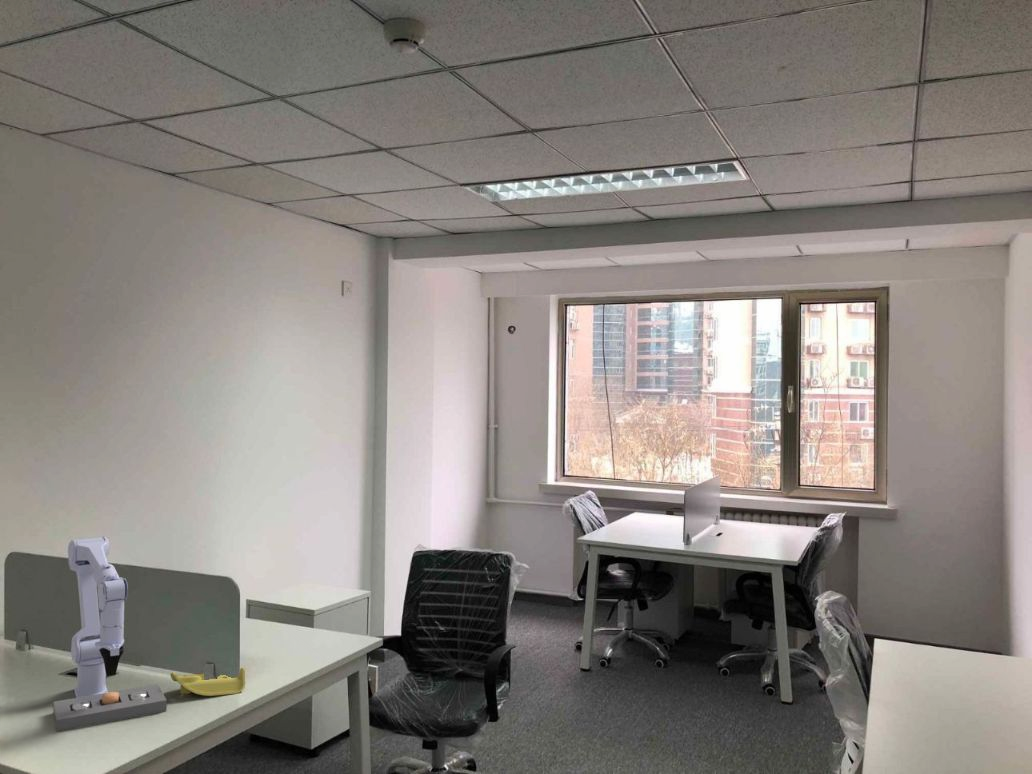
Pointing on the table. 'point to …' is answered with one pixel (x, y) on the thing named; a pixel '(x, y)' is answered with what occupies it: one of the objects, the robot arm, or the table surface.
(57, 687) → the table surface
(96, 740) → the table surface
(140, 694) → the plunger
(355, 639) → the table surface
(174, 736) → the table surface
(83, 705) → the plunger
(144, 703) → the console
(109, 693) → the orange plunger
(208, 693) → the plastic component
